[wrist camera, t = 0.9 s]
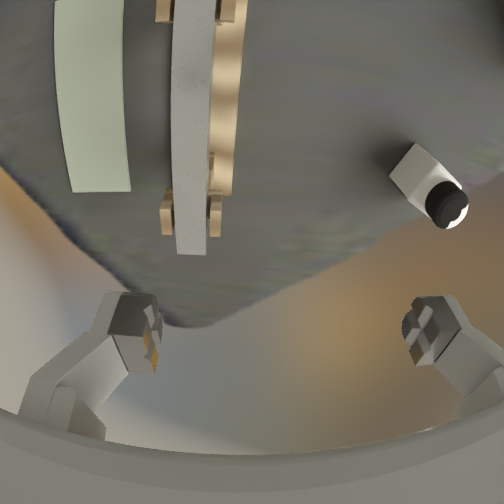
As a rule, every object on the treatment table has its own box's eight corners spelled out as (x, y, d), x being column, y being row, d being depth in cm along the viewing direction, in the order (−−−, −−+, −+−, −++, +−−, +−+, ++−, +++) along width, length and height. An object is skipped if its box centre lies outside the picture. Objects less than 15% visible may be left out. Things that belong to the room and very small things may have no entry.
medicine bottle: (387, 175, 43) (422, 221, 34) (414, 141, 39) (458, 180, 30) (414, 196, 45) (449, 242, 36) (440, 165, 41) (481, 206, 32)
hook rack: (181, -21, 24) (147, -49, 12) (249, -20, 25) (257, -51, 13) (176, 190, 43) (155, 260, 32) (231, 192, 44) (229, 263, 33)
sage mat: (57, 1, 22) (55, 1, 22) (125, -15, 23) (123, -15, 23) (74, 190, 42) (72, 192, 41) (131, 189, 43) (130, 191, 42)
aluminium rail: (185, -34, 16) (179, -42, 13) (222, -35, 16) (220, -43, 14) (181, 236, 34) (177, 253, 32) (207, 237, 34) (205, 255, 32)
